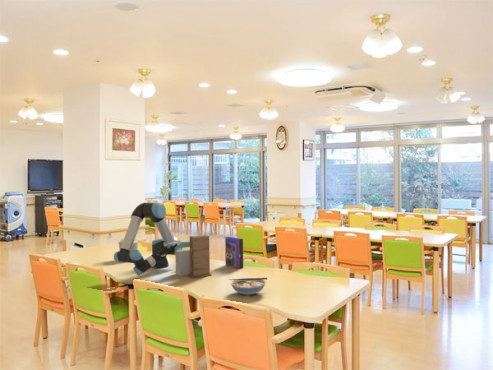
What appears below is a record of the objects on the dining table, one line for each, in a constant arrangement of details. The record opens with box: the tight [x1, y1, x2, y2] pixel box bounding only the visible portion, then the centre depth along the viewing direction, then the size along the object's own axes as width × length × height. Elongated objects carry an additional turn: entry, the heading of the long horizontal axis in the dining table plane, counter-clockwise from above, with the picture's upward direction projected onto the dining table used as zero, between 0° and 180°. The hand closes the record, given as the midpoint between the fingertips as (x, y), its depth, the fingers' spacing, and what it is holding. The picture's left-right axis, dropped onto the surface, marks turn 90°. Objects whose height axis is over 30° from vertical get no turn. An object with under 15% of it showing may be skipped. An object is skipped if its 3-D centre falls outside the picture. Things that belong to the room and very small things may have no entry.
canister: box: [117, 239, 140, 252], centre depth 368 cm, size 18×18×21 cm
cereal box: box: [224, 236, 244, 270], centre depth 335 cm, size 17×5×24 cm, turn 41°
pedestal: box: [187, 234, 212, 279], centre depth 306 cm, size 9×15×30 cm, turn 121°
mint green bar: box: [167, 240, 190, 249], centre depth 311 cm, size 4×24×4 cm, turn 121°
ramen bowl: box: [228, 277, 268, 296], centre depth 257 cm, size 25×23×8 cm
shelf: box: [174, 248, 190, 277], centre depth 314 cm, size 8×20×18 cm, turn 121°
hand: (179, 241), depth 310 cm, fingers closed on mint green bar, 4 cm apart
